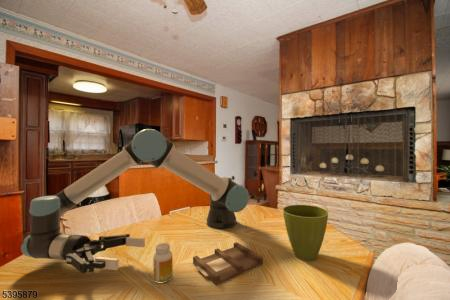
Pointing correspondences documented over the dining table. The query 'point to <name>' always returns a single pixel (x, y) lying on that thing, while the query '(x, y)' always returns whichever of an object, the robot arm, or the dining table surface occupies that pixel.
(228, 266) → the slot board
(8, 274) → the dining table surface
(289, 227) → the flower pot
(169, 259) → the supplement bottle
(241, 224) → the dining table surface
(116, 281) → the dining table surface
